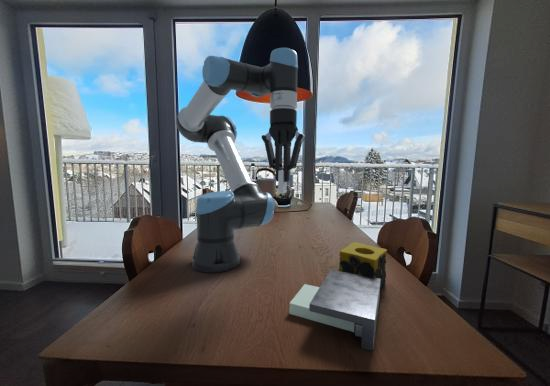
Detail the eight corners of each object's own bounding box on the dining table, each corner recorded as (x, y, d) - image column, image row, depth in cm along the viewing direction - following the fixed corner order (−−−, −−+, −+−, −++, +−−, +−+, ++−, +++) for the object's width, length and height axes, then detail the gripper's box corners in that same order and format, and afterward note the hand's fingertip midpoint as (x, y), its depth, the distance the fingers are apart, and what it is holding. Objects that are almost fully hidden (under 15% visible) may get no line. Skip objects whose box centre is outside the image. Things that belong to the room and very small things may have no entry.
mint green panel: (289, 315, 58) (289, 303, 58) (304, 295, 67) (304, 284, 67) (353, 334, 52) (354, 320, 52) (361, 308, 61) (361, 296, 61)
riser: (308, 332, 52) (309, 303, 51) (329, 291, 68) (330, 269, 67) (372, 351, 47) (374, 320, 46) (379, 302, 63) (380, 278, 62)
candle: (351, 273, 79) (353, 241, 78) (386, 283, 73) (388, 248, 72) (336, 285, 72) (337, 250, 70) (373, 297, 65) (376, 259, 64)
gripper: (256, 108, 73) (256, 193, 76) (300, 105, 67) (299, 195, 70) (268, 113, 79) (268, 190, 82) (309, 110, 74) (307, 192, 77)
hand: (282, 192), depth 76 cm, fingers closed
